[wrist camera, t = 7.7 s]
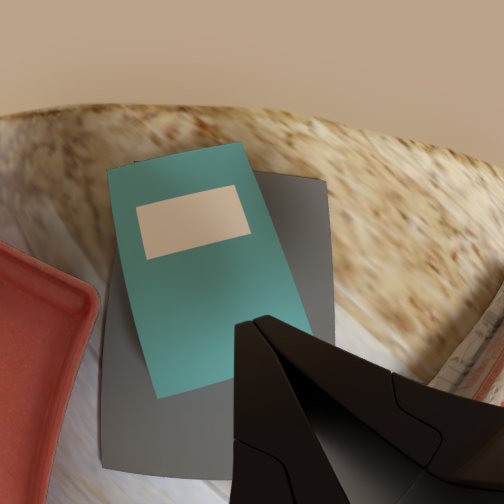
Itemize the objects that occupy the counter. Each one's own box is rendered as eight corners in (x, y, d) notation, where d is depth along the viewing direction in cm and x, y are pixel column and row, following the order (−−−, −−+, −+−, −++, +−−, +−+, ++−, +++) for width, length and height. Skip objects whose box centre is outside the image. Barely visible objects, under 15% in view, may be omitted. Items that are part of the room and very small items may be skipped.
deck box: (317, 347, 12) (241, 141, 15) (157, 398, 11) (106, 170, 13) (297, 351, 15) (234, 170, 18) (163, 392, 13) (117, 197, 16)
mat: (328, 470, 13) (331, 472, 13) (104, 465, 12) (102, 468, 11) (323, 184, 19) (326, 180, 18) (135, 165, 17) (134, 161, 17)
